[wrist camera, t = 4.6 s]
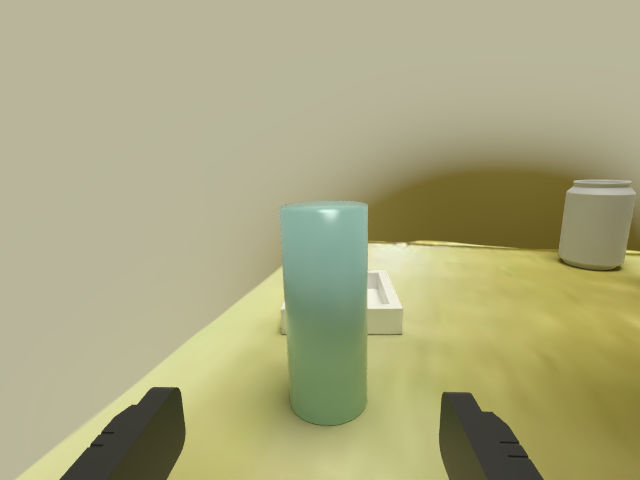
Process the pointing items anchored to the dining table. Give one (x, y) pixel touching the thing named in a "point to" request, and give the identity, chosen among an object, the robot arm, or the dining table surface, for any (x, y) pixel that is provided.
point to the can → (596, 223)
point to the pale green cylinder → (326, 308)
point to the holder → (376, 306)
